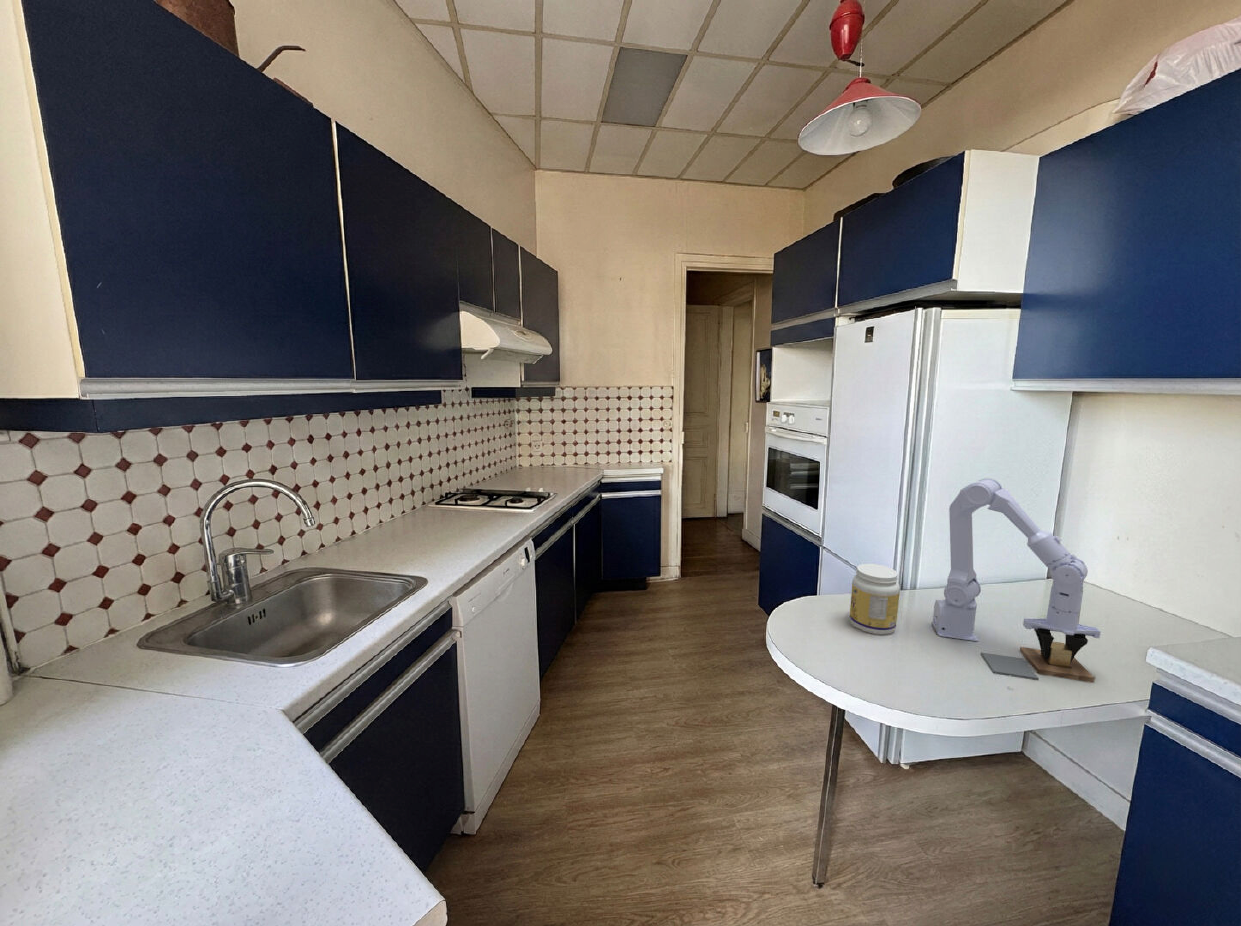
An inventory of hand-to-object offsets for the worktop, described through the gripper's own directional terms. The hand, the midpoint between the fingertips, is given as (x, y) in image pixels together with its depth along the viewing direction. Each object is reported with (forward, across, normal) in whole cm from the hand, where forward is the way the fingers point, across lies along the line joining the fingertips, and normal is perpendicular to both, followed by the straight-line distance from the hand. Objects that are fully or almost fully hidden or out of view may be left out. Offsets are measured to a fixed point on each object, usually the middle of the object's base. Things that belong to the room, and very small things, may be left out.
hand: (1055, 658), depth 123 cm
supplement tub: (+2, -40, +8) cm, 41 cm away
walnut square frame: (+2, 0, 0) cm, 2 cm away
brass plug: (+2, 0, 0) cm, 2 cm away
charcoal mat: (+2, -11, -4) cm, 12 cm away
